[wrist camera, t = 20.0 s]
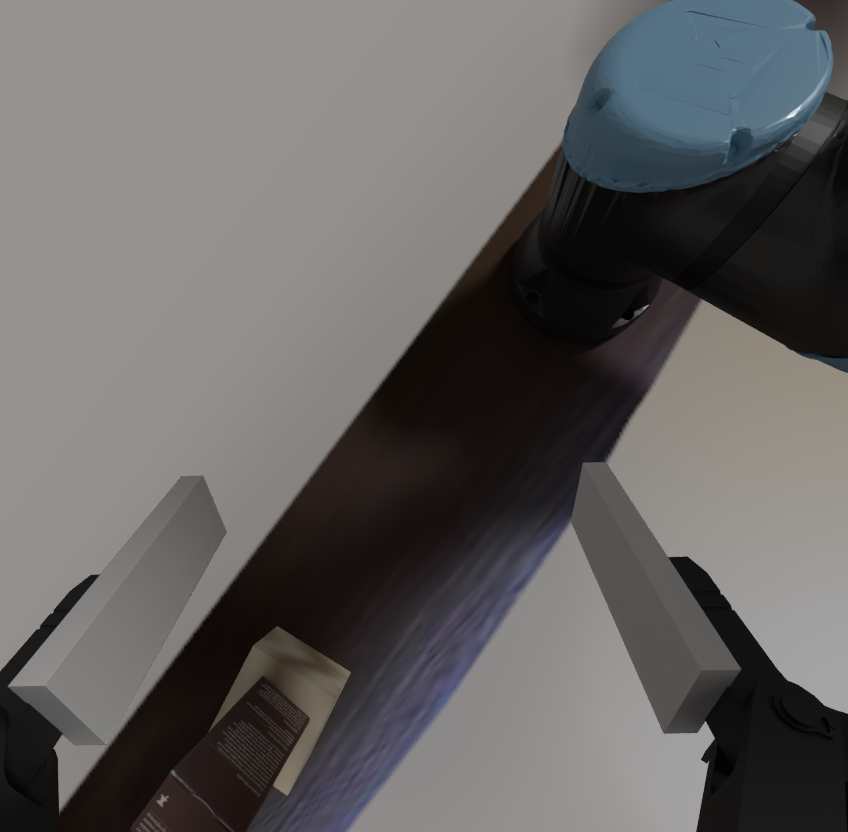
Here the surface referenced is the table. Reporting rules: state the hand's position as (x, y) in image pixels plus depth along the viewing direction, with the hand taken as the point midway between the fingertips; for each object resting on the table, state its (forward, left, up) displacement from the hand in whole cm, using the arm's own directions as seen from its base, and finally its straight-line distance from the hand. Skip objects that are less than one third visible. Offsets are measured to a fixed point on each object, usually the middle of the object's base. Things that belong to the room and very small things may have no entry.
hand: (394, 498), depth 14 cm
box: (+10, +24, -23) cm, 35 cm away
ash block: (+10, +24, -28) cm, 38 cm away
